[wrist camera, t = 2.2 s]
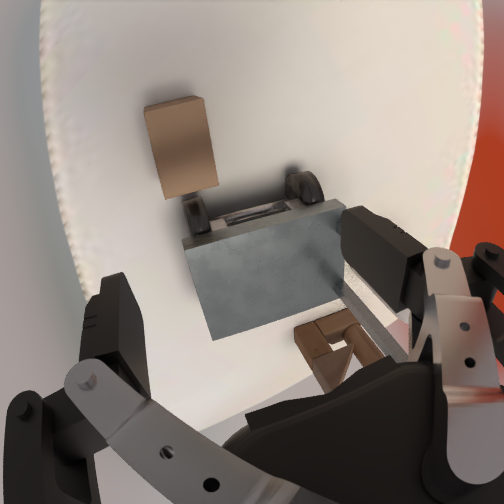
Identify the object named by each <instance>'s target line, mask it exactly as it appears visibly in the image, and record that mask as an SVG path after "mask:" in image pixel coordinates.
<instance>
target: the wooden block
mask: <svg viewBox="0 0 504 504" xmlns="http://www.w3.org/2000/svg"><path fill="white" fill-rule="evenodd" d="M360 325H361V324H360V322H359V321H358V320H357V319H356V318H355V316H354V315H353V314H352V313H351V311H350V310H349V309H348V308H347V309H345V310H342V311H340V312H337V313H334V314H332V315H329V316H326V317H324V318H321V319H318V320H316V321H315V323H314V322H310V323H307V324H304V325H301V326H298V327H296V328H295V329H294V332H295V343H296V344H297V346H298V348H299V349H300V351H301V353H302V355H303V356H304V358H305V360H306V362H307V363H308V365H309V367H310V369H311V370H312V371H313V374H314V376H315V377H316V379H317V381H318V382H319V384H320V386H321V387H322V389H323V391H324V393H325V394H327V393H329V392H331V391H332V390H333V389H335V388H336V387H337V386H339V385H340V384H341V383H342V382H343V380H344V377H345V375H346V372H347V369H348V366H349V364H350V360H351V358H352V354H353V353H354V355H355V356H356V358H357V359H358V360H359V362H360V363H361V365H362V366H363V367H365V366H367V365H370V364H372V363H374V362H376V361H378V360H380V359H382V358H384V357H385V356H384V355H383V354H382V352H381V351H380V350H379V349H378V347H377V346H376V345H375V344H374V342H373V341H372V340H371V338H370V337H369V336H368V335H367V333H366V332H365V331H364V330H363V328H362V327H361V326H360ZM342 340H344V341H345V342H346V344H347V346H345V347H343V348H340V349H338V350H335V351H333V350H332V348H331V347H330V345H329V344H335V343H337V342H340V341H342ZM328 343H329V344H328Z"/></svg>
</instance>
